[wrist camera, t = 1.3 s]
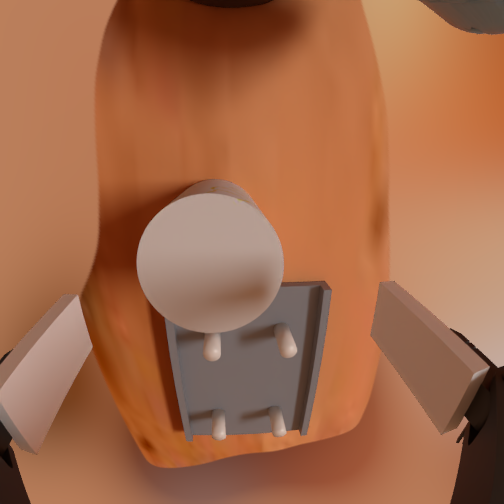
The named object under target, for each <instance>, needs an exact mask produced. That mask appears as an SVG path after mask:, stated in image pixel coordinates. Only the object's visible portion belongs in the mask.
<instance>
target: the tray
mask: <svg viewBox="0 0 504 504" xmlns="http://www.w3.org/2000/svg"><path fill="white" fill-rule="evenodd" d="M331 292H332V289H331V288H330V287H329V286H328V284H327V283H326V282H325V281H315V282H287V283H281V285H280V288H279V290H278V293H277V295H276V297H275V298H274V300H273V301H272V303H271V304H270V306H269V307H268V308H267V309H266V310H265V311H264V312H263V313H262V314H261V315H260V316H259V317H257V318H256V319H255V320H253V321H252V322H250V323H248V324H246V325H244V326H242V327H240V328H237V329H234V330H231V331H227V332H220V333H203V332H196V331H192V330H188V329H185V328H183V327H180V326H178V325H176V324H174V323H172V322H171V321H169V320H168V319H166V318H165V324H166V331H167V339H168V345H169V352H170V358H171V365H172V371H173V376H174V382H175V388H176V393H177V398H178V403H179V408H180V413H181V418H182V423H183V427H184V432H185V436H186V441H193V435H212V438H213V439H215V440H223V439H225V438H226V435H237V434H256V433H270V432H272V433H273V436H275V437H281V436H284V435H285V434H286V431H290V430H299V431H300V435H301V436H302V435H307V430H308V426H309V421H310V417H311V412H312V407H313V403H314V398H315V393H316V387H317V382H318V377H319V371H320V366H321V360H322V354H323V348H324V342H325V335H326V329H327V322H328V315H329V308H330V300H331Z"/></svg>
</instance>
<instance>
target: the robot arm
mask: <svg viewBox="0 0 504 504" xmlns="http://www.w3.org/2000/svg"><path fill="white" fill-rule="evenodd" d="M191 1H193V2H196V3H200V4H204V5H209V6H216V7H247V6H254V5H259V4H263V3H267V2H270V1H273V0H191ZM419 1H421V2H422V3H423V4H425V5H426V6H427V7H429V8H430V9H431V10H433V11H434V12H435V13H436V14H438V15H439V16H440V17H441V18H443V19H444V20H445V21H446V22H447V23H449V24H450V25H452V26H454V27H456V28H458V29H460V30H463V31H466V32H470V33H477V34H483V33H486V34H503V33H504V0H419ZM370 335H371V337H372V338H373V339H374V341H375V342H376V343H377V345H378V346H379V347H380V349H381V350H382V352H383V353H384V354H385V356H386V357H387V358H388V360H389V361H390V362H391V364H392V365H393V366H394V368H395V369H396V370H397V372H398V373H399V375H400V376H401V378H402V379H403V380H404V382H405V383H406V385H407V386H408V387H409V389H410V390H411V392H412V393H413V395H414V396H415V397H416V399H417V400H418V402H419V403H420V405H421V406H422V407H423V409H424V410H425V412H426V413H427V415H428V416H429V418H430V419H431V421H432V422H433V423H434V425H435V426H436V428H437V429H438V431H439V432H440V434H441V435H442V434H444V433H447V432H449V431H451V430H453V429H456V428H457V427H458V426H459V424H460V422H461V421H462V419H463V417H464V416H465V417H466V418H467V420H468V421H469V422H468V423H467V425H466V427H465V428H464V430H463V431H462V433H461V434H460V436H459V437H458V439H457V442H456V443H459V442H460V440H461V439H462V437H464V440H463V443H462V444H463V447H462V453H461V459H460V464H459V469H458V474H457V478H456V483H455V487H454V492H453V495H452V499H451V503H450V504H504V366H502V367H499V368H497V366H495V365H494V364H493V363H492V362H491V361H490V360H489V359H488V358H487V357H486V356H485V355H484V354H483V353H482V352H481V351H479V349H477V348H476V347H475V346H474V345H473V344H472V343H469V340H468V339H467V338H465V337H464V336H463V335H462V334H461V333H459V332H457V331H455V330H453V329H451V328H450V329H449V328H448V327H447V326H446V325H445V324H444V323H443V322H441V321H440V320H439V319H438V318H437V317H436V316H435V315H433V314H432V313H431V312H430V311H429V310H428V309H427V308H425V307H424V306H423V305H422V304H421V303H420V302H418V301H417V300H416V299H415V298H414V297H413V296H411V295H410V294H409V293H408V292H407V291H406V290H404V289H403V288H402V287H401V286H399V285H398V284H397V283H396V282H395V281H388V282H380V284H379V290H378V297H377V302H376V308H375V314H374V319H373V324H372V329H371V334H370ZM91 349H92V344H91V341H90V337H89V334H88V331H87V327H86V324H85V320H84V317H83V313H82V309H81V305H80V301H79V297H78V295H74V294H72V295H71V294H70V295H69V294H67V295H66V294H64V295H63V296H62V297H61V298H60V299H59V300H58V301H57V302H56V303H55V304H54V305H53V306H52V307H51V308H50V309H49V310H48V311H47V312H46V314H45V315H44V316H43V317H42V318H41V319H40V320H39V321H38V322H37V323H36V324H35V325H34V326H33V327H32V329H31V330H30V331H29V332H28V333H27V334H26V335H25V336H24V337H23V339H22V340H21V341H20V342H19V343H18V344H17V346H16V347H15V348H14V349H12V350H11V351H9V352H8V353H6V354H5V355H4V356H3V357H2V358H1V360H0V504H31V503H30V500H29V498H28V495H27V492H26V490H25V487H24V484H23V481H22V478H21V475H20V472H19V468H18V465H17V462H16V458H15V454H14V451H13V449H12V447H11V446H10V445H9V444H10V442H11V440H12V438H13V440H14V441H15V442H16V444H17V445H18V446H19V448H21V449H22V450H25V451H27V452H30V453H34V454H36V455H37V453H38V451H39V449H40V447H41V445H42V442H43V440H44V438H45V436H46V434H47V432H48V430H49V428H50V425H51V424H52V421H53V419H54V417H55V415H56V413H57V411H58V409H59V408H60V405H61V403H62V401H63V400H64V398H65V396H66V394H67V392H68V390H69V388H70V387H71V385H72V383H73V381H74V379H75V377H76V375H77V374H78V372H79V370H80V368H81V366H82V365H83V363H84V361H85V359H86V358H87V356H88V354H89V352H90V351H91Z"/></svg>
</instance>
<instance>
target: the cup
mask: <svg viewBox="0 0 504 504" xmlns="http://www.w3.org/2000/svg"><path fill="white" fill-rule="evenodd" d="M283 271H284V257H283V251H282V247H281V243H280V241H279V238H278V236H277V234H276V232H275V230H274V228H273V227H272V225H271V224H270V223H269V221H268V220H267V219H266V217H265V216H264V214H263V213H262V212H261V210H260V209H259V208H258V206H257V205H256V204H255V202H254V201H253V200H252V198H251V197H250V196H249V194H248V193H247V192H246V191H245V190H243V189H242V188H241V187H239V186H238V185H236V184H234V183H232V182H229V181H226V180H220V179H210V180H204V181H201V182H198V183H196V184H194V185H192V186H191V187H189V188H188V189H187V190H185V191H184V192H183V193H182V194H180V195H179V196H178V197H177V198H175V199H174V200H173V201H172V202H171V203H169V204H168V205H167V206H166V207H165V208H163V209H162V210H161V211H160V212H159V213H158V214H157V215H156V216H155V217H154V218H153V219H152V220H151V221H150V223H149V224H148V226H147V227H146V229H145V231H144V233H143V235H142V237H141V240H140V243H139V247H138V251H137V273H138V278H139V281H140V284H141V287H142V289H143V292H144V294H145V295H146V297H147V299H148V300H149V302H150V303H151V304H152V306H153V307H154V308H155V309H156V310H157V311H158V312H159V313H160V314H161V315H162V316H164V317H165V318H166V319H168V320H169V321H171V322H172V323H174V324H176V325H178V326H180V327H183V328H185V329H188V330H192V331H196V332H203V333H220V332H227V331H231V330H234V329H237V328H240V327H242V326H244V325H246V324H248V323H250V322H252V321H253V320H255V319H256V318H257V317H259V316H260V315H261V314H262V313H263V312H264V311H265V310H266V309H267V308H268V307H269V306H270V304H271V303H272V301H273V300H274V298H275V297H276V295H277V293H278V290H279V288H280V285H281V282H282V278H283Z"/></svg>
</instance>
